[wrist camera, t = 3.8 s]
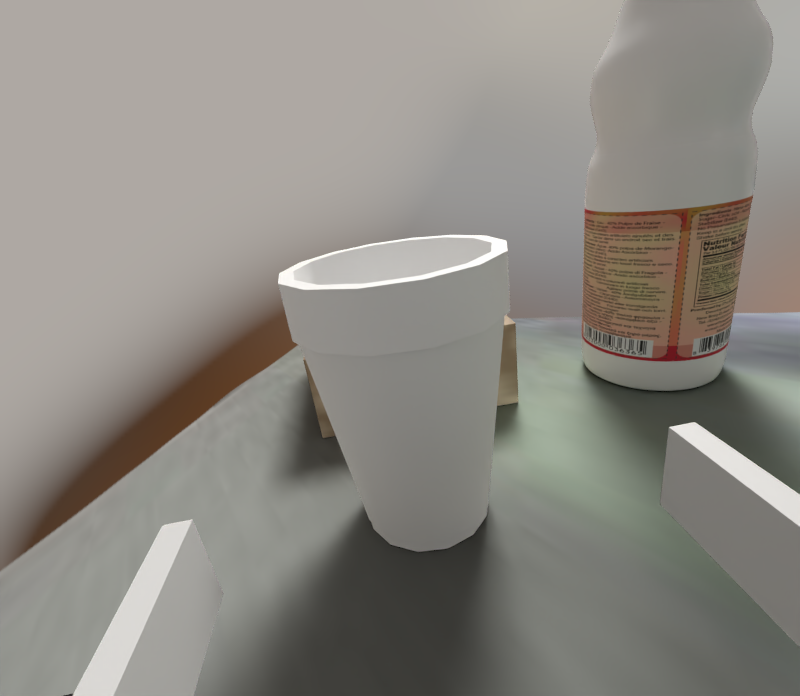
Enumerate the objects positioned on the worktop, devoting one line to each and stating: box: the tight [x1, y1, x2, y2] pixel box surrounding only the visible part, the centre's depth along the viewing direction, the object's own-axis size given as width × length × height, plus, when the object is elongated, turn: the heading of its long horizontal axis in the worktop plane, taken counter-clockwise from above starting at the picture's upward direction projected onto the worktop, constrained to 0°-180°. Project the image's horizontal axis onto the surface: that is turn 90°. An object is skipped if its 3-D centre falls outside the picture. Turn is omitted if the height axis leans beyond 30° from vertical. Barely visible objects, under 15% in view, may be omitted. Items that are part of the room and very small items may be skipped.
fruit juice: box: [581, 0, 773, 391], centre depth 28 cm, size 9×9×28 cm
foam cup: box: [278, 235, 510, 552], centre depth 20 cm, size 10×9×13 cm
